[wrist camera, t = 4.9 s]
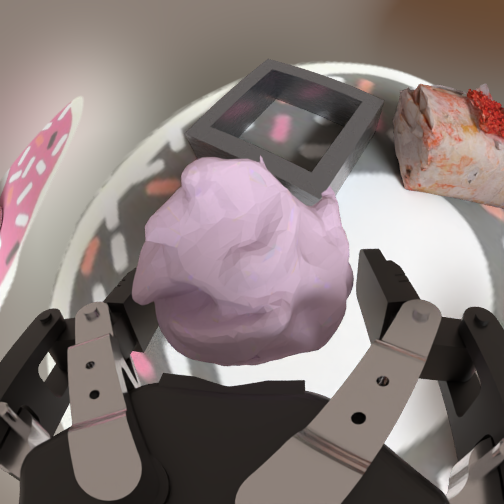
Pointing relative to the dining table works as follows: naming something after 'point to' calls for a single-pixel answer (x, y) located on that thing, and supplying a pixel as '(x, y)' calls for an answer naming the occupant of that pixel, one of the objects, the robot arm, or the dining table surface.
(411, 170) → the food item
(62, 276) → the dining table surface
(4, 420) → the robot arm
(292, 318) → the ice cream cone
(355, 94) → the hollow square frame
